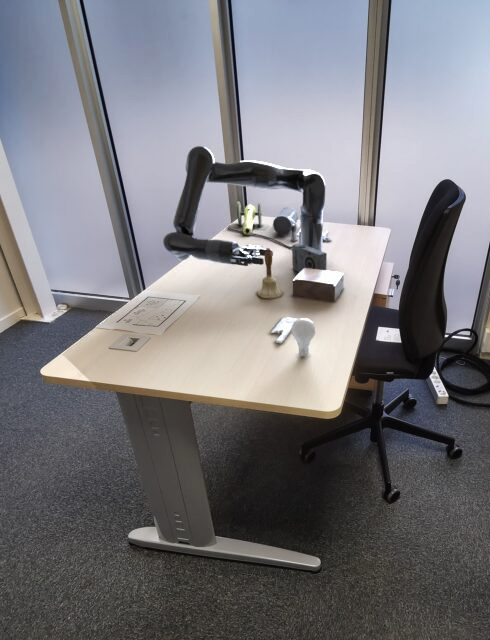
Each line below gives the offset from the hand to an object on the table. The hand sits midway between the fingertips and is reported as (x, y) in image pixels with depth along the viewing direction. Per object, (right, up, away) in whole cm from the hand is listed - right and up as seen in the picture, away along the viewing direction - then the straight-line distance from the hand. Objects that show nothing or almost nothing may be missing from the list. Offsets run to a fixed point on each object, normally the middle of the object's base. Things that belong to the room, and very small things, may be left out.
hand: (267, 257), depth 147 cm
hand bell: (-1, -11, +7) cm, 13 cm away
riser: (+16, -9, +11) cm, 22 cm away
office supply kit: (+5, +35, +75) cm, 83 cm away
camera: (+11, +1, +26) cm, 28 cm away
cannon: (-23, +35, +73) cm, 84 cm away
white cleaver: (+7, -26, -15) cm, 31 cm away
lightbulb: (+15, -35, -26) cm, 46 cm away
